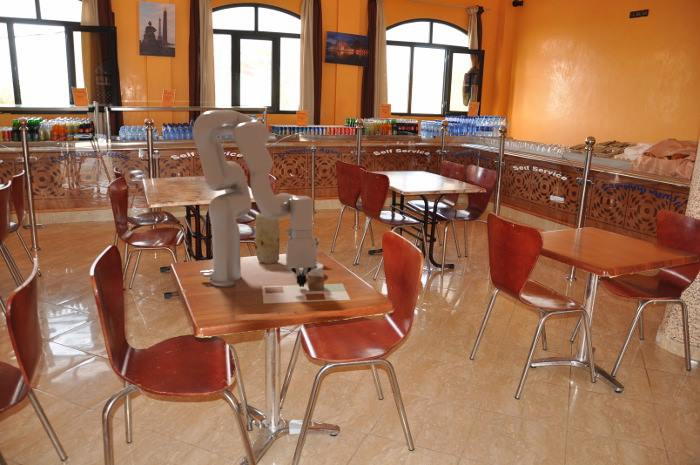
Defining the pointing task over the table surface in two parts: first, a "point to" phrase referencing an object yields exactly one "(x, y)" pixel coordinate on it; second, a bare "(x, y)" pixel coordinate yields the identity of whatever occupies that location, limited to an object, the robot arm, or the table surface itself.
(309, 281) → the walnut block
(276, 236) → the food model
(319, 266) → the ramekin
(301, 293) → the trap deck
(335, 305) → the table surface
